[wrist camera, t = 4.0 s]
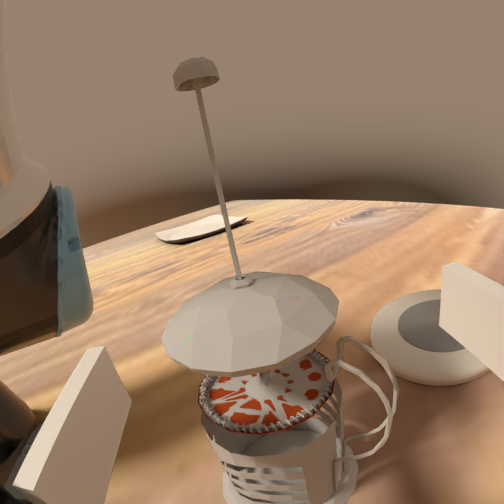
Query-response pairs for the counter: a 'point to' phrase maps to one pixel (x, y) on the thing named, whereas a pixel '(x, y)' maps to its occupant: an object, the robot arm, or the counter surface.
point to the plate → (198, 229)
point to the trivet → (422, 343)
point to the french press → (268, 371)
